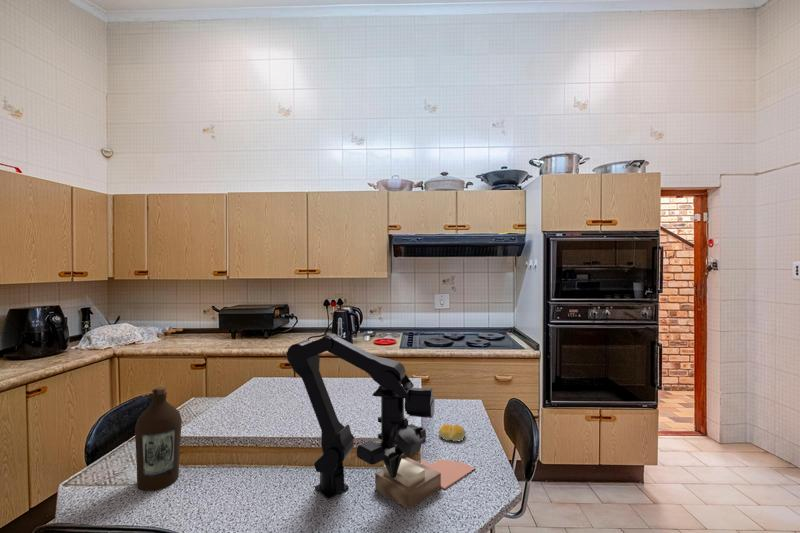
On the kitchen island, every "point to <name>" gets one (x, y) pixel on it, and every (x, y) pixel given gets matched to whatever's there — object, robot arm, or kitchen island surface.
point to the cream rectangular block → (407, 473)
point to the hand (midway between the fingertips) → (393, 477)
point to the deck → (412, 493)
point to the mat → (449, 471)
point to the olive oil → (158, 443)
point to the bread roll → (452, 432)
